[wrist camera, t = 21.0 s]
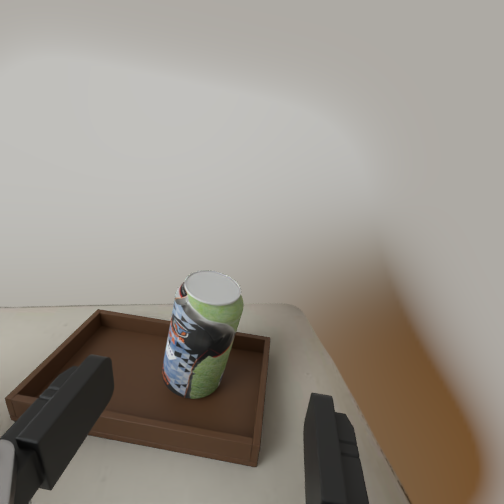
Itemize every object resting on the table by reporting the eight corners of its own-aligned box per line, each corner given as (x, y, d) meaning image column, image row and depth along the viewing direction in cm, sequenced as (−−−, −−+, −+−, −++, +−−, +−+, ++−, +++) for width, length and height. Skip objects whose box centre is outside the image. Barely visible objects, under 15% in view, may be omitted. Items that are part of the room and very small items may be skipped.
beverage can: (175, 354, 34) (176, 257, 29) (239, 367, 34) (251, 270, 29) (150, 400, 29) (146, 289, 24) (226, 417, 28) (238, 306, 23)
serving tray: (267, 354, 37) (270, 337, 36) (256, 467, 25) (260, 446, 24) (99, 326, 38) (97, 309, 37) (10, 420, 26) (4, 398, 25)
